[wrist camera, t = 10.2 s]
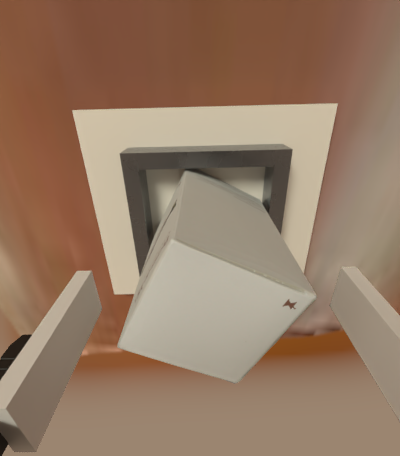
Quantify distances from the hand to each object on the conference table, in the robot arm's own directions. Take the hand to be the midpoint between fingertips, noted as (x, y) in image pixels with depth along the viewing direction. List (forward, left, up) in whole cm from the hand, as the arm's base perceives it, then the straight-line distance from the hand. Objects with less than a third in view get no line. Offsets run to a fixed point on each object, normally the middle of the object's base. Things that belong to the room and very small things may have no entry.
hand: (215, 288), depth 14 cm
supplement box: (0, 0, -11) cm, 11 cm away
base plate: (0, 0, -12) cm, 12 cm away
